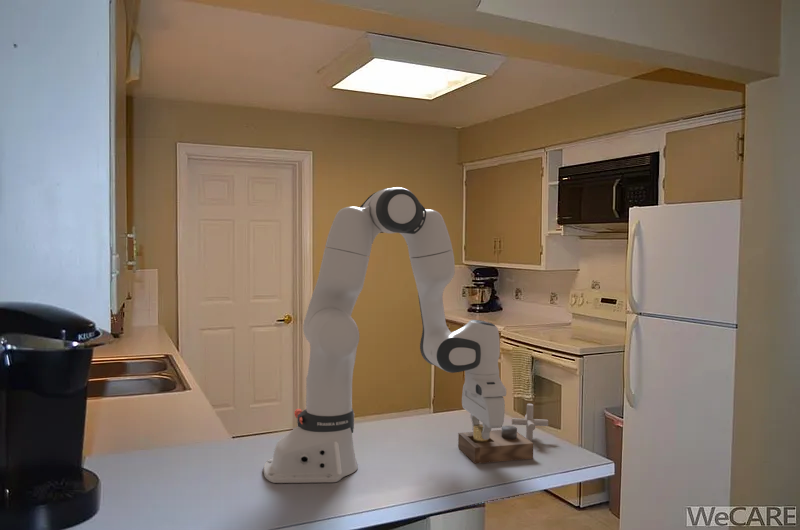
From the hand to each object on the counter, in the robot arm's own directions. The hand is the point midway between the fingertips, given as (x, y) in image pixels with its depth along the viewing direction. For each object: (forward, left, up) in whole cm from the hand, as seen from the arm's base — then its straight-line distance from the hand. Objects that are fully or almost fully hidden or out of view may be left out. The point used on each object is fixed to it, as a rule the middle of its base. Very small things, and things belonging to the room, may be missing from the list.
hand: (480, 434), depth 157 cm
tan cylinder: (0, 0, -5) cm, 5 cm away
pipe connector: (+18, +8, -5) cm, 20 cm away
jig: (+4, 0, -5) cm, 7 cm away
